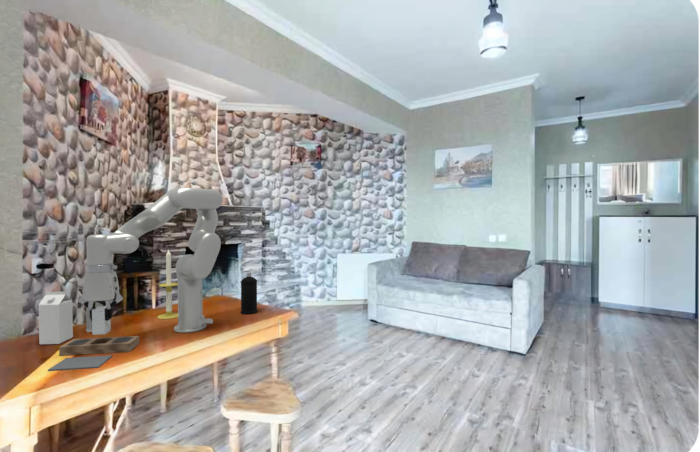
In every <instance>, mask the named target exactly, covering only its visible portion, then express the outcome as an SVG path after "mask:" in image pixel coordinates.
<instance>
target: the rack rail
mask: <svg viewBox="0 0 700 452" xmlns="http://www.w3.org/2000/svg"><path fill="white" fill-rule="evenodd" d="M138 345H140V335H128V336H107V337H106V336H105V337H89V338H72V339H71V340H68V341H67V342H66V343H63V344H62V345H61V346H59V347H58V348H59V349H58V352H59V353H58V356H59V357H60V356H61V357H62V356H63V357H65V356H64V355H66V356H79V355H78V354H83V355H98V354H111V353H112V354H114V353H115V354H116V353H130V352H131V351H132V350H134V349H135V348H136V347H137V346H138ZM76 354H77V355H76Z"/></svg>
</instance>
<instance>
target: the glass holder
mask: <svg viewBox="0 0 700 452" xmlns="http://www.w3.org/2000/svg"><path fill="white" fill-rule="evenodd" d="M100 306H106V302H105V301H97V302H96V307H100ZM85 309H86V311H85V312H86V317H85V319H86V328H85V330H86V331H87V332H86V333H89V332H92V321H91V318H90V310H88V308H87V307H86V306H85Z"/></svg>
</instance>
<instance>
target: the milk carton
mask: <svg viewBox="0 0 700 452" xmlns="http://www.w3.org/2000/svg"><path fill="white" fill-rule="evenodd" d="M73 320H74V319H73V299H72V298H71V297H70V296H69V295H68V294H67V291H45V295H44V297H43V298H42V299H41V301H40V302H39V304H38V332H39V333H38V338H39V339H38V341H39V342H38V343H39V345H60V344H62V343H64V342H66V341H69V340H70V339H73V337H74V333H73V332H74V331H73V327H74V325H73V323H74V321H73Z"/></svg>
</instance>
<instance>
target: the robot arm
mask: <svg viewBox="0 0 700 452" xmlns="http://www.w3.org/2000/svg"><path fill="white" fill-rule="evenodd" d="M223 199H224V198H223V195H222V194H221V192H219V191H218V190H215V189H212V188H196V187H182V186H181V187H175V188H174V187H173V188H171V189H169V190H168V191H166V192H165V193H164V194H163V195H162V196H160V197H159V198H158V199H157V200H156V201H155V202H153V203H152V204H151V205H149V207H147V208H146V209H144V210H143V211H142V212H140V213H138V214H137V215H136V216H134V217H132V218H131V219H130V220H128V221H127V222H125V223H124V224H123V225H121V226H120V227H118V229H116V230H115V231H114V232H113V233H111V234H105V233H103V234H90V235H88V236H87V238H86V268H87V270H86V272H87V273H85V274H84V278H83V284H82V295H81V296H80V297H79V299H78V300H77V301H78V303H80V304H81V305H83V306H84V307H85V308H86V307H87V308H88V310H90V318H91V321H92V309H94V308H96V302H97V301H105V302H106V307H107V309H106V310H105V318H106V321H107V320H110V321H111V319H112V318H113V316H114V315H113V314H114V310H113V308H115V306H116V305H117V304H118V303H120V302H121V301H123V300H124V298H123V296H122V294H121V293H120V287H119V286H120V285H119V284H120V283H119V279H118V275H117V271H115V270H117V269H118V265H115V264H114V256H113V255H114V254H131V253H133V252H134V253H135V251H137V249H138V248H139V247H140V241H139V238H140V237H141V236H143V235H145V234H147V233H148V232H150V231H153V230H156V229H158V228H160V227H163V226H164V225H165V224H166V223H167V222H169V221H170V220H171V219H172V218H173V217H175V215H177V214H178V213H179V212H180V211H181V210H182V209H192V210H196V213H197V219H196V222H195V224H194V227H193V229H192V232H191V234H190V237H189V239H188V242H187V243H188V245H187V246H188V248H189V249H190V250H191V251H192V252H194V253H193V254H191V253H190V254H188V253H187V254H185V255H182V256H181V257H179V258H178V260H177V261H176V263H175V274H176V280H177V283H178V285H177V313H178V317H177V324H176V325H175V326H174V327H173V331H174V332H176V333H181V334H182V333H184V334H185V333H194V332H199V331H202V330H204V329H205V328H207V324H208V325H211V324H214V320H213V319H212V318H210V317H208V318H206V317H205V315H203V280H204V279H205V278H207V277H209V275H210V274H211V272H212V271H213V268H214V266H215V263H216V261H217V257H218V255H219V253H220V250H221V245H222V243H221V242H222V240H221V238H220V236H219V235H218V234H217V233H215V232H216V230H217V229H216V228H217V226H218V223H219V215H218V211H217V209H218V208H220V207H221V206H222V205H223ZM114 299H115V300H114Z"/></svg>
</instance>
